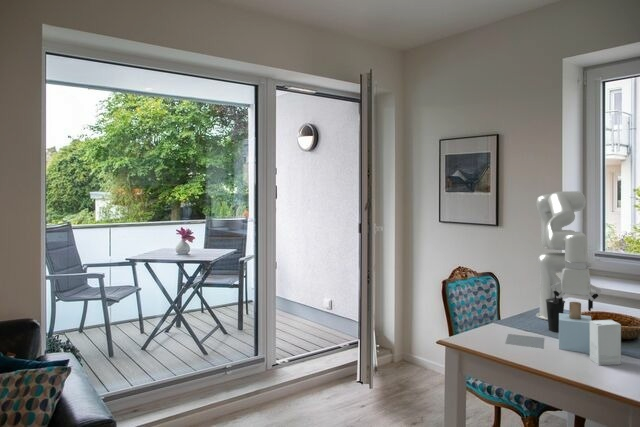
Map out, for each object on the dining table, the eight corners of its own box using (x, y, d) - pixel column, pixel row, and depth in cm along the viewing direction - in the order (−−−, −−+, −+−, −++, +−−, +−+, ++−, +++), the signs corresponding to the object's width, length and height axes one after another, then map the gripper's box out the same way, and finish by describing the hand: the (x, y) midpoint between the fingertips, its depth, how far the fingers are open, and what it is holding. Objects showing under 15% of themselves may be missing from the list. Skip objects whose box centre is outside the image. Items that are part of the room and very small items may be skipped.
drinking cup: (567, 334, 200) (567, 288, 199) (548, 333, 201) (548, 287, 200) (561, 329, 207) (562, 284, 206) (543, 328, 209) (543, 284, 208)
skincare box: (611, 359, 171) (611, 319, 170) (621, 365, 165) (622, 323, 164) (588, 359, 171) (588, 319, 170) (597, 365, 165) (598, 324, 164)
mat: (508, 334, 201) (508, 333, 201) (544, 338, 195) (544, 337, 195) (505, 344, 188) (505, 343, 188) (543, 349, 182) (543, 348, 182)
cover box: (558, 341, 191) (559, 298, 190) (590, 345, 186) (590, 301, 185) (558, 350, 181) (559, 304, 180) (592, 354, 176) (592, 307, 175)
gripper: (600, 265, 181) (600, 308, 182) (551, 262, 189) (550, 304, 190) (602, 268, 174) (601, 313, 175) (550, 265, 182) (550, 309, 183)
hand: (575, 308), depth 183 cm, fingers open, 9 cm apart
